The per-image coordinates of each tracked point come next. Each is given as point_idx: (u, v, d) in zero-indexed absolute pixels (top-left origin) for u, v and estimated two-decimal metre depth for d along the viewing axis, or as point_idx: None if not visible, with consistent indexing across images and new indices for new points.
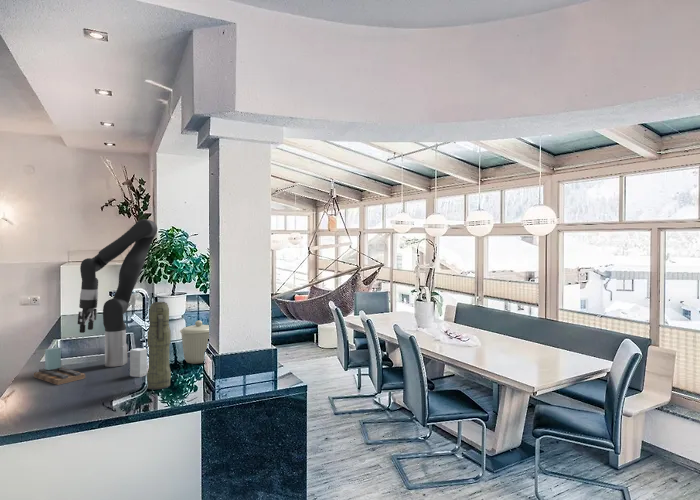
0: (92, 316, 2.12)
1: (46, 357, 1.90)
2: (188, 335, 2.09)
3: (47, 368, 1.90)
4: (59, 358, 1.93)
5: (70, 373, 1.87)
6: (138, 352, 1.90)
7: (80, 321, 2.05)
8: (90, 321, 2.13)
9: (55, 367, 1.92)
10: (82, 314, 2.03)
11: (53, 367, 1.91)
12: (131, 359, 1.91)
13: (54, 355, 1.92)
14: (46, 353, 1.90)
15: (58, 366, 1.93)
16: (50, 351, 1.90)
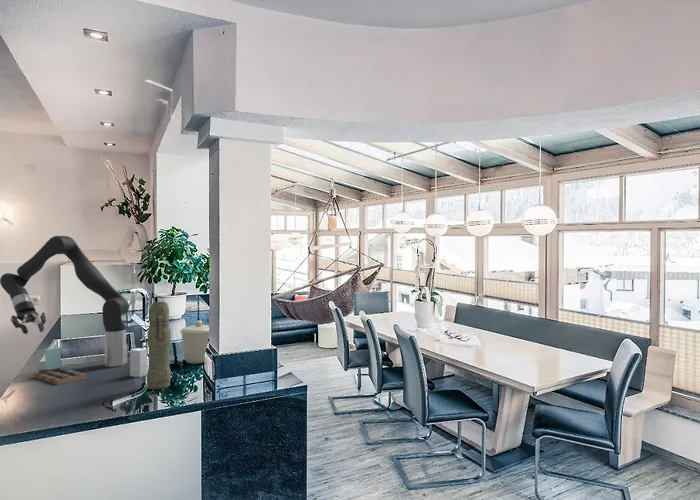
0: (34, 317, 2.06)
1: (46, 357, 1.90)
2: (188, 335, 2.09)
3: (47, 368, 1.90)
4: (59, 358, 1.93)
5: (70, 373, 1.87)
6: (138, 352, 1.90)
7: None
8: (38, 324, 2.06)
9: (55, 367, 1.92)
10: (12, 318, 1.99)
11: (53, 367, 1.91)
12: (131, 359, 1.91)
13: (54, 355, 1.92)
14: (46, 353, 1.90)
15: (58, 366, 1.93)
16: (50, 351, 1.90)
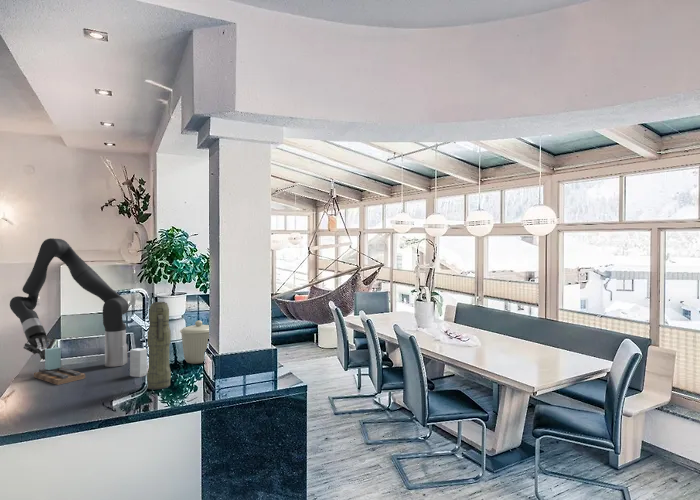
0: (42, 342, 1.99)
1: (46, 357, 1.90)
2: (188, 335, 2.09)
3: (47, 368, 1.90)
4: (59, 358, 1.93)
5: (70, 373, 1.87)
6: (138, 352, 1.90)
7: None
8: None
9: (55, 367, 1.92)
10: (26, 346, 1.94)
11: (53, 367, 1.91)
12: (131, 359, 1.91)
13: (54, 355, 1.92)
14: (46, 353, 1.90)
15: (58, 366, 1.93)
16: (50, 351, 1.90)
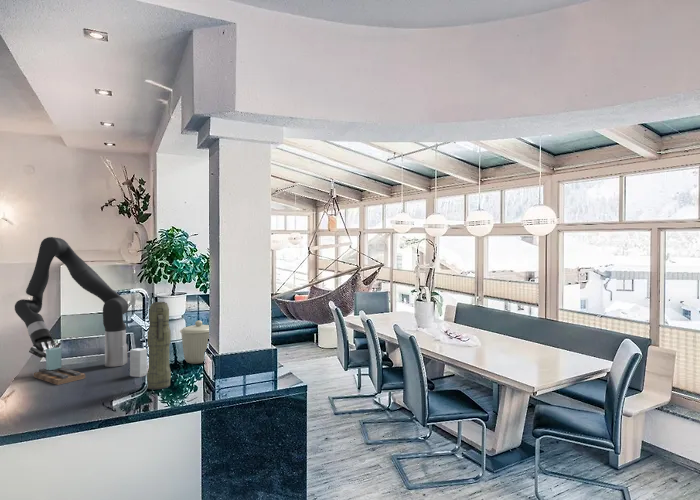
0: (48, 346, 1.96)
1: (47, 357, 1.90)
2: (188, 335, 2.09)
3: (48, 368, 1.90)
4: (60, 358, 1.93)
5: (70, 373, 1.87)
6: (138, 352, 1.90)
7: None
8: None
9: (56, 367, 1.91)
10: (32, 350, 1.91)
11: (54, 367, 1.91)
12: (131, 359, 1.91)
13: (55, 355, 1.91)
14: (47, 353, 1.90)
15: (59, 366, 1.93)
16: (51, 351, 1.90)
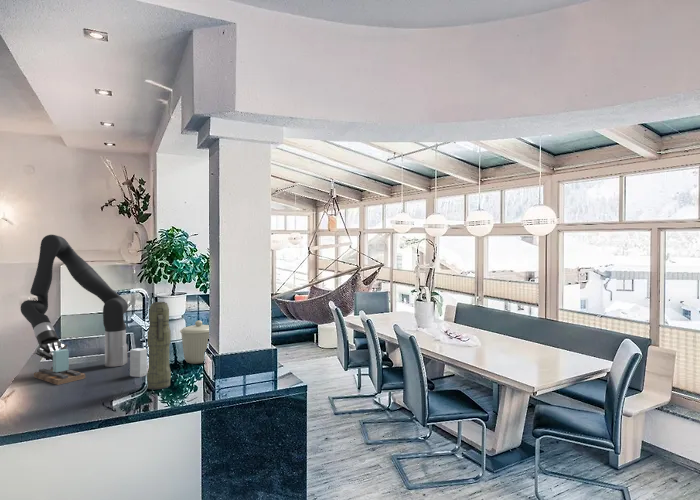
0: (54, 347, 1.93)
1: (54, 359, 1.87)
2: (188, 335, 2.09)
3: (54, 370, 1.86)
4: (67, 360, 1.90)
5: (70, 373, 1.87)
6: (138, 352, 1.90)
7: None
8: None
9: (63, 369, 1.88)
10: (38, 352, 1.88)
11: (61, 369, 1.87)
12: (131, 359, 1.91)
13: (62, 357, 1.88)
14: (54, 355, 1.87)
15: (66, 368, 1.89)
16: (58, 353, 1.86)
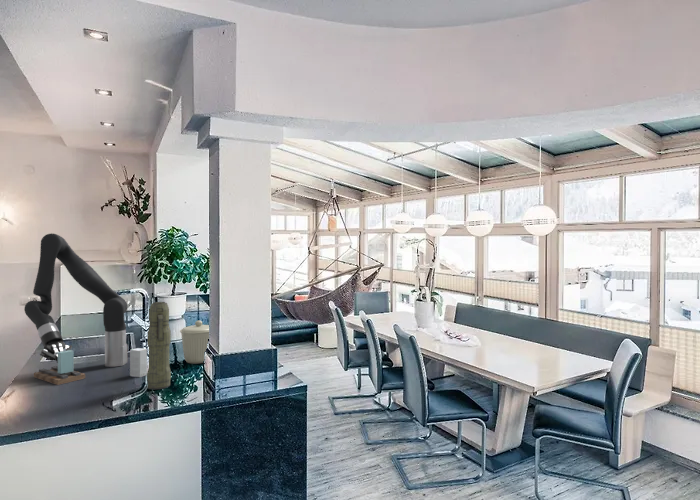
0: (59, 349, 1.90)
1: (59, 360, 1.84)
2: (188, 335, 2.09)
3: (59, 372, 1.84)
4: (72, 361, 1.87)
5: None
6: (138, 352, 1.90)
7: None
8: None
9: (68, 371, 1.86)
10: (43, 353, 1.85)
11: (66, 371, 1.85)
12: (131, 359, 1.91)
13: (67, 358, 1.85)
14: (59, 356, 1.84)
15: (71, 370, 1.87)
16: (63, 354, 1.84)
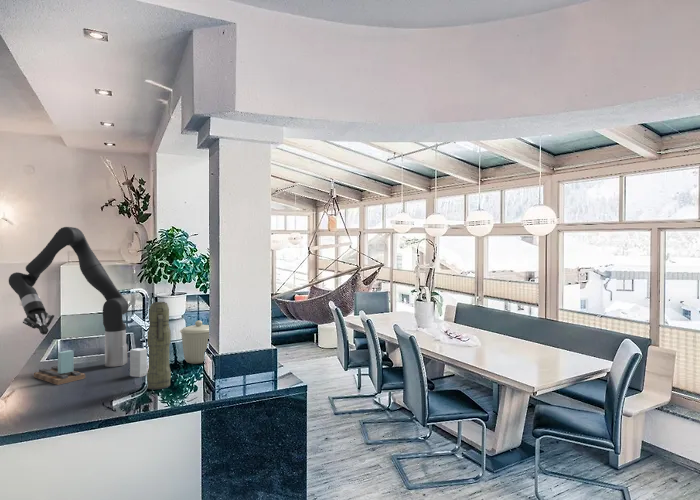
0: (41, 317, 1.99)
1: (59, 360, 1.84)
2: (188, 335, 2.09)
3: (59, 372, 1.84)
4: (72, 361, 1.87)
5: None
6: (138, 352, 1.90)
7: None
8: None
9: (68, 371, 1.86)
10: (26, 321, 1.94)
11: (66, 371, 1.85)
12: (131, 359, 1.91)
13: (67, 358, 1.85)
14: (59, 356, 1.84)
15: (71, 370, 1.87)
16: (63, 354, 1.84)
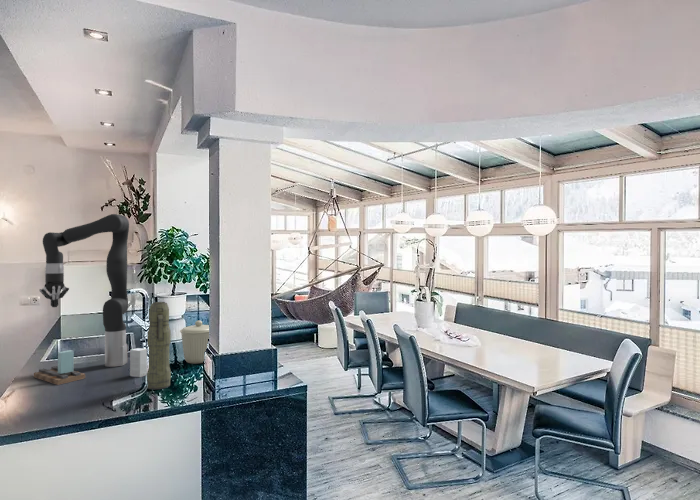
0: (57, 290, 2.11)
1: (59, 360, 1.84)
2: (188, 335, 2.09)
3: (59, 372, 1.84)
4: (72, 361, 1.87)
5: None
6: (138, 352, 1.90)
7: None
8: None
9: (68, 371, 1.86)
10: (42, 292, 2.06)
11: (66, 371, 1.85)
12: (131, 359, 1.91)
13: (67, 358, 1.85)
14: (59, 356, 1.84)
15: (71, 370, 1.87)
16: (63, 354, 1.84)
